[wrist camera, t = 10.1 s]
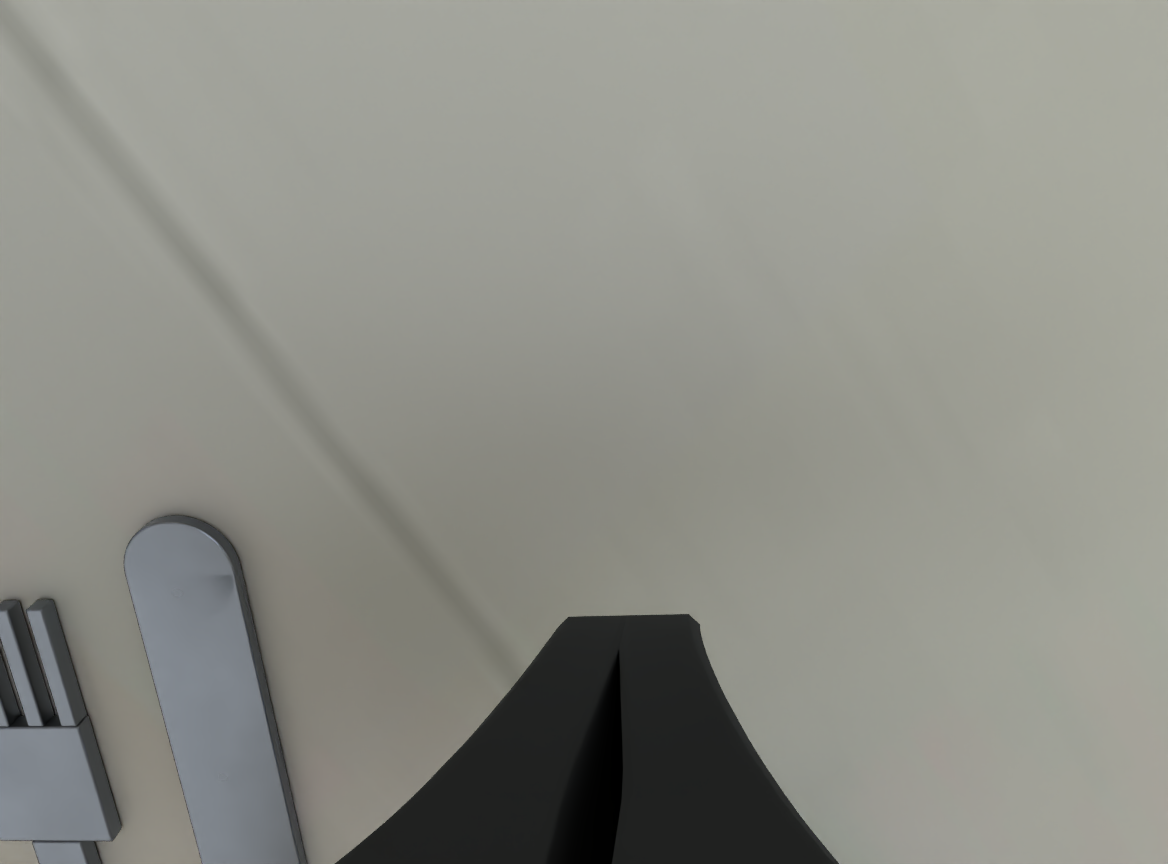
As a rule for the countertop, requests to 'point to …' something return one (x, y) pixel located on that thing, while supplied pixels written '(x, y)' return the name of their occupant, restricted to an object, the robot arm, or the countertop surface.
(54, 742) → the fork
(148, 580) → the knife
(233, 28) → the countertop surface
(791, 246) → the countertop surface
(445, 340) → the countertop surface
